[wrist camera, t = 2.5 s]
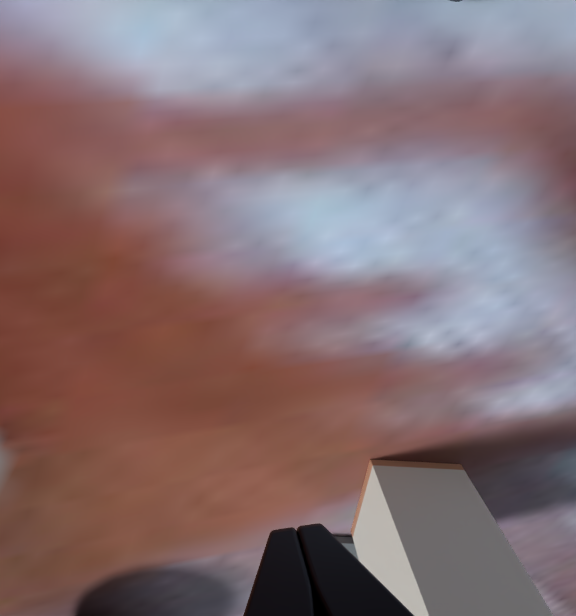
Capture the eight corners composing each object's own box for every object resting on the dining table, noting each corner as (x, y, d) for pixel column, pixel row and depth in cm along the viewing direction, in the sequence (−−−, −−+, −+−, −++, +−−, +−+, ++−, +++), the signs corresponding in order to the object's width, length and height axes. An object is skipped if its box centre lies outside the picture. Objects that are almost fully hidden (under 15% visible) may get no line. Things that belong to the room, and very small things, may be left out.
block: (370, 459, 23) (448, 665, 15) (460, 464, 24) (582, 663, 15) (350, 530, 25) (410, 751, 16) (435, 533, 25) (533, 746, 17)
